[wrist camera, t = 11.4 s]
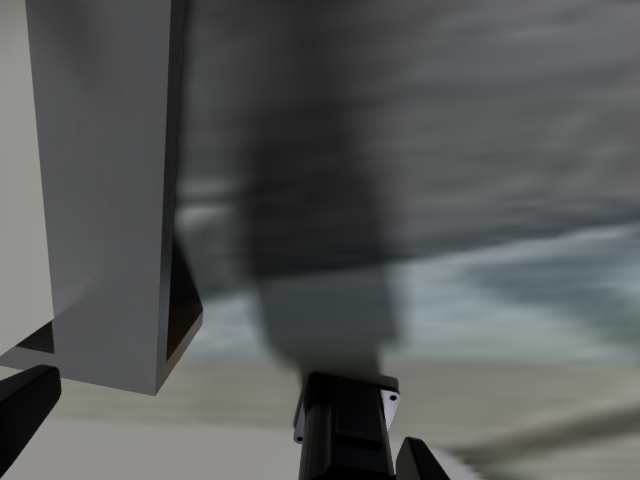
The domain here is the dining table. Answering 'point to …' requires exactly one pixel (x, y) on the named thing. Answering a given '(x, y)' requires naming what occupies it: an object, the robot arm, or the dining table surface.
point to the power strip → (20, 190)
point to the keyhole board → (108, 189)
